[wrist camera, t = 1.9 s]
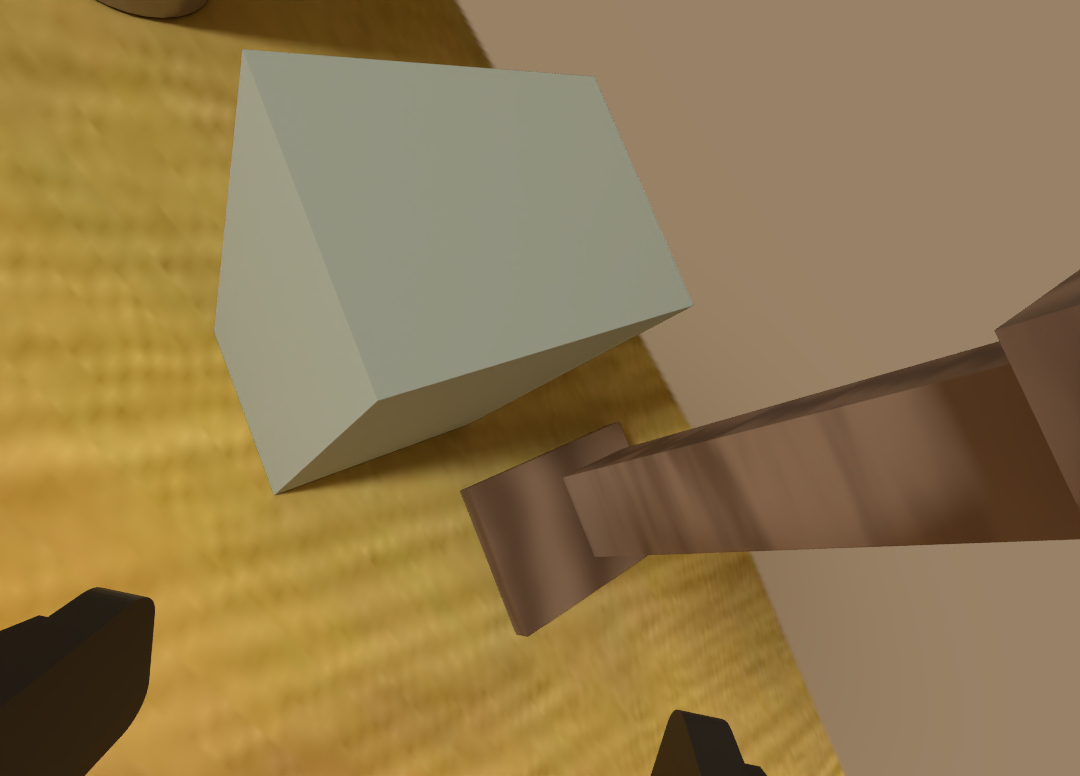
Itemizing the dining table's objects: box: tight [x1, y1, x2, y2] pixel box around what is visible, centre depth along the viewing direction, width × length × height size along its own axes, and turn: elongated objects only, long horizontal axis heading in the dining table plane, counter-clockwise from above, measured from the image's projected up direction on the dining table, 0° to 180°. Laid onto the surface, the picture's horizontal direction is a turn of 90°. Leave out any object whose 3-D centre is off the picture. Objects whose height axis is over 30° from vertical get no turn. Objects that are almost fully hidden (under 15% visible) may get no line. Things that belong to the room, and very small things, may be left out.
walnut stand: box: [460, 270, 1080, 637], centre depth 27 cm, size 14×10×32 cm
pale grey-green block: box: [214, 49, 693, 495], centre depth 27 cm, size 13×10×21 cm
